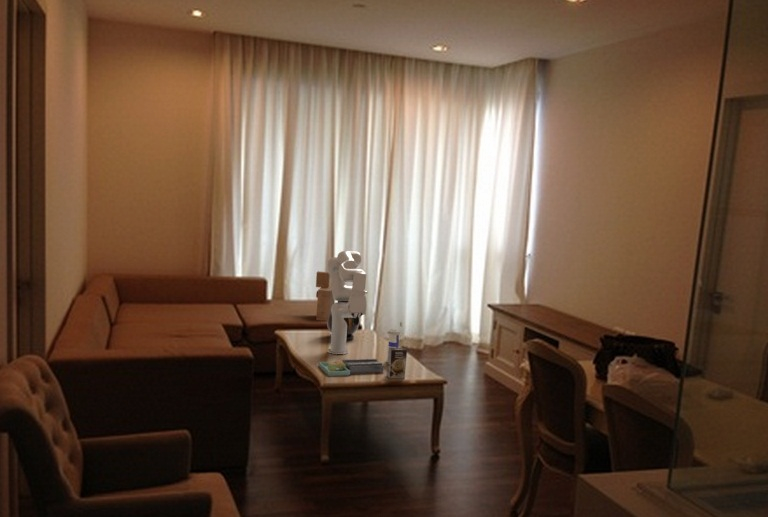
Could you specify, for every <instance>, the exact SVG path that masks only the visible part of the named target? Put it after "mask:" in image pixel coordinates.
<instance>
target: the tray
mask: <svg viewBox="0 0 768 517" xmlns="http://www.w3.org/2000/svg"><path fill="white" fill-rule="evenodd" d="M328 362H329V361H318V367H319V368H320V369H321V370H322V372H324V373H325V375H326V376H328V377H347V376H348V377H349V376H351V374H350V371H349V370H348V369H347V368H346V367H345V368H344V369H343V371H341V370H340V369H338V368H336V371H329V370H328V369H327V366H328ZM334 362H335V363H337V361H334Z"/></svg>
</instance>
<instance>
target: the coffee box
mask: <svg viewBox="0 0 768 517" xmlns="http://www.w3.org/2000/svg"><path fill="white" fill-rule="evenodd" d="M407 355H408V350H407V349H406V348H405V347H399V348H389V352H388V363H386V364H387V365H386V376H387V378H389V379H405V378H406V367H407V366H406V365H407Z"/></svg>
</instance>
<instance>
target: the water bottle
mask: <svg viewBox="0 0 768 517" xmlns="http://www.w3.org/2000/svg"><path fill="white" fill-rule="evenodd" d="M399 327H401V328H402V327H403V323H402V322H399ZM386 333H387V334H388V339H387V341H388V345H387V348H386V358H385V363H386V362H388V352H389V348H400V347H399V346H400V338H399V337H401V331H397V330H396V329H388V330H387V331H386Z"/></svg>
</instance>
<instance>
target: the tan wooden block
mask: <svg viewBox="0 0 768 517" xmlns="http://www.w3.org/2000/svg"><path fill="white" fill-rule="evenodd" d="M336 362H337V363H336V364H337V367H336V368H338V369H340V370H341V371H343V369H344V368H345V366H346V364H344V363H343V362H342V360H340V359H338V360H336Z"/></svg>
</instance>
